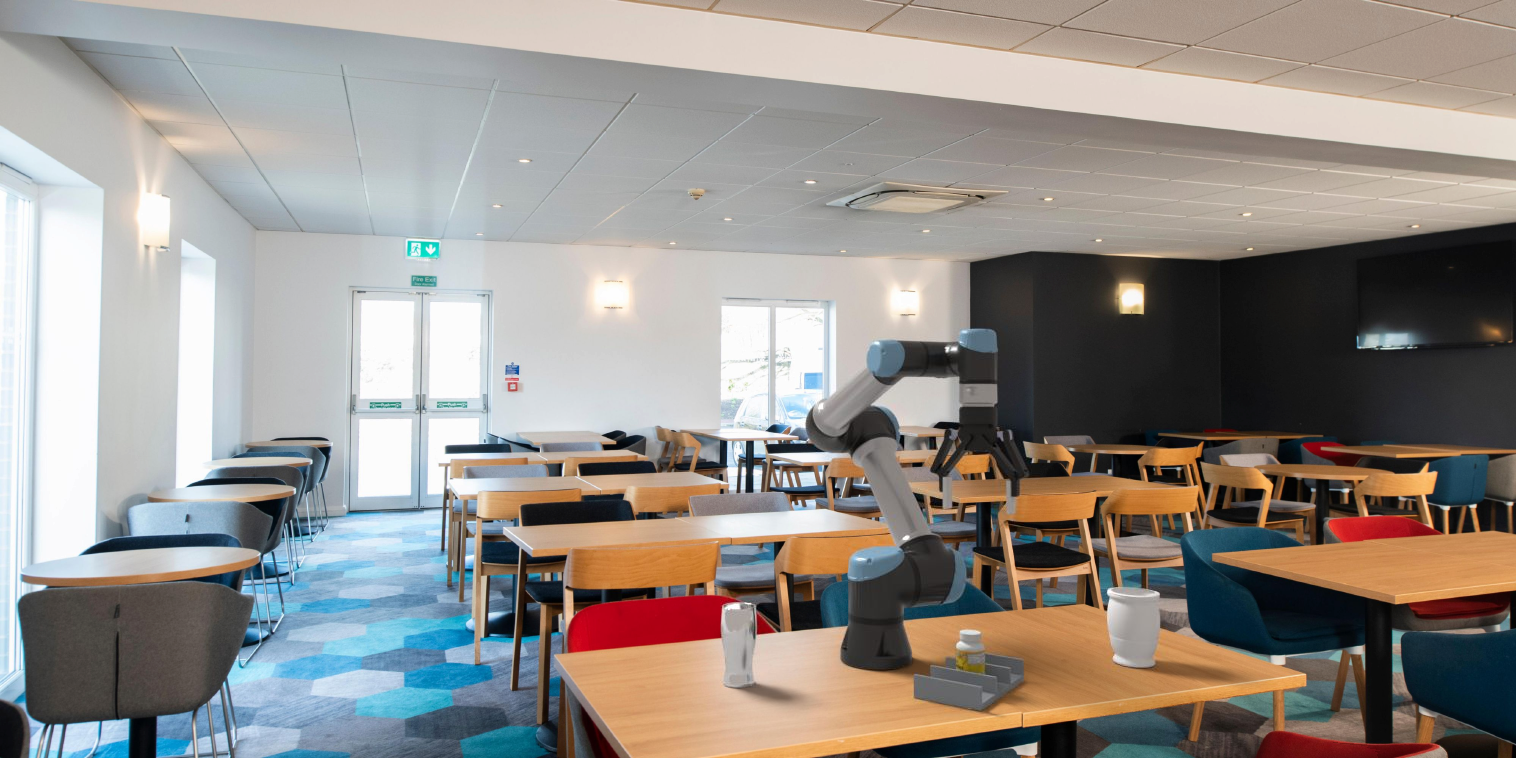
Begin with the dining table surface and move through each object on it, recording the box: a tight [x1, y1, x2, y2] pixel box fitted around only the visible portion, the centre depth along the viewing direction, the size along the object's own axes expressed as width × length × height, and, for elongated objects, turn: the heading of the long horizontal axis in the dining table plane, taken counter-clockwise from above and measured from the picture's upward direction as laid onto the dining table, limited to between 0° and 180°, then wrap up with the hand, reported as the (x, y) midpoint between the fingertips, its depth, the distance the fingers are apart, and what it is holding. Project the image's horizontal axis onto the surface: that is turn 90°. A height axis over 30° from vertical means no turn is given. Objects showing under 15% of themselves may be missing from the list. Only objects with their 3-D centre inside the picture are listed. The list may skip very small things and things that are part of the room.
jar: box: [1106, 586, 1161, 669], centre depth 192 cm, size 11×10×15 cm
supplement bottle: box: [955, 629, 986, 675], centre depth 174 cm, size 5×5×10 cm
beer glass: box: [720, 601, 758, 689], centre depth 178 cm, size 7×7×15 cm
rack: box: [913, 652, 1025, 712], centre depth 174 cm, size 13×22×4 cm, turn 145°
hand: (978, 511), depth 184 cm, fingers open, 13 cm apart
